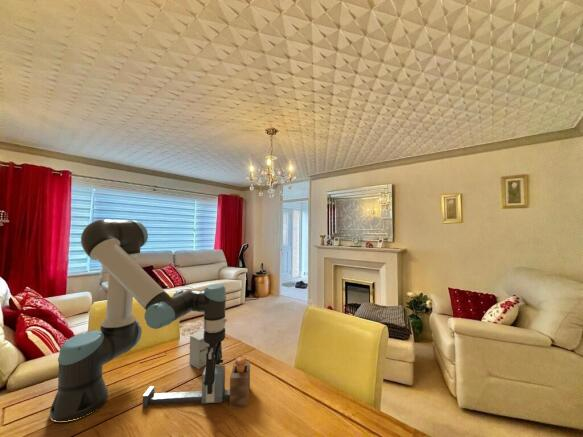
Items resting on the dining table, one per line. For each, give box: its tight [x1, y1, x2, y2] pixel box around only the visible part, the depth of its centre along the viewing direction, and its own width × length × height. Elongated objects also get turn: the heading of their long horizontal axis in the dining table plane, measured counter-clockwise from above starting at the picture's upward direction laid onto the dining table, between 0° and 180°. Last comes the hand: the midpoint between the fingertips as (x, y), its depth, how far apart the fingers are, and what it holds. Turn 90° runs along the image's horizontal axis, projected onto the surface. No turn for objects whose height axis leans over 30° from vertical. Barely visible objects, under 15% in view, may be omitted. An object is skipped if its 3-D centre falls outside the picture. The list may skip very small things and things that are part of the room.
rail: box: [142, 385, 230, 409], centre depth 88 cm, size 30×5×4 cm, turn 95°
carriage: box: [201, 365, 226, 404], centre depth 89 cm, size 7×5×10 cm
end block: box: [229, 360, 251, 409], centre depth 89 cm, size 6×10×10 cm, turn 5°
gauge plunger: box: [234, 356, 247, 373], centre depth 90 cm, size 4×4×6 cm
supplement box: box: [189, 330, 209, 370], centre depth 112 cm, size 7×7×13 cm
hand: (213, 391), depth 89 cm, fingers open, 10 cm apart
